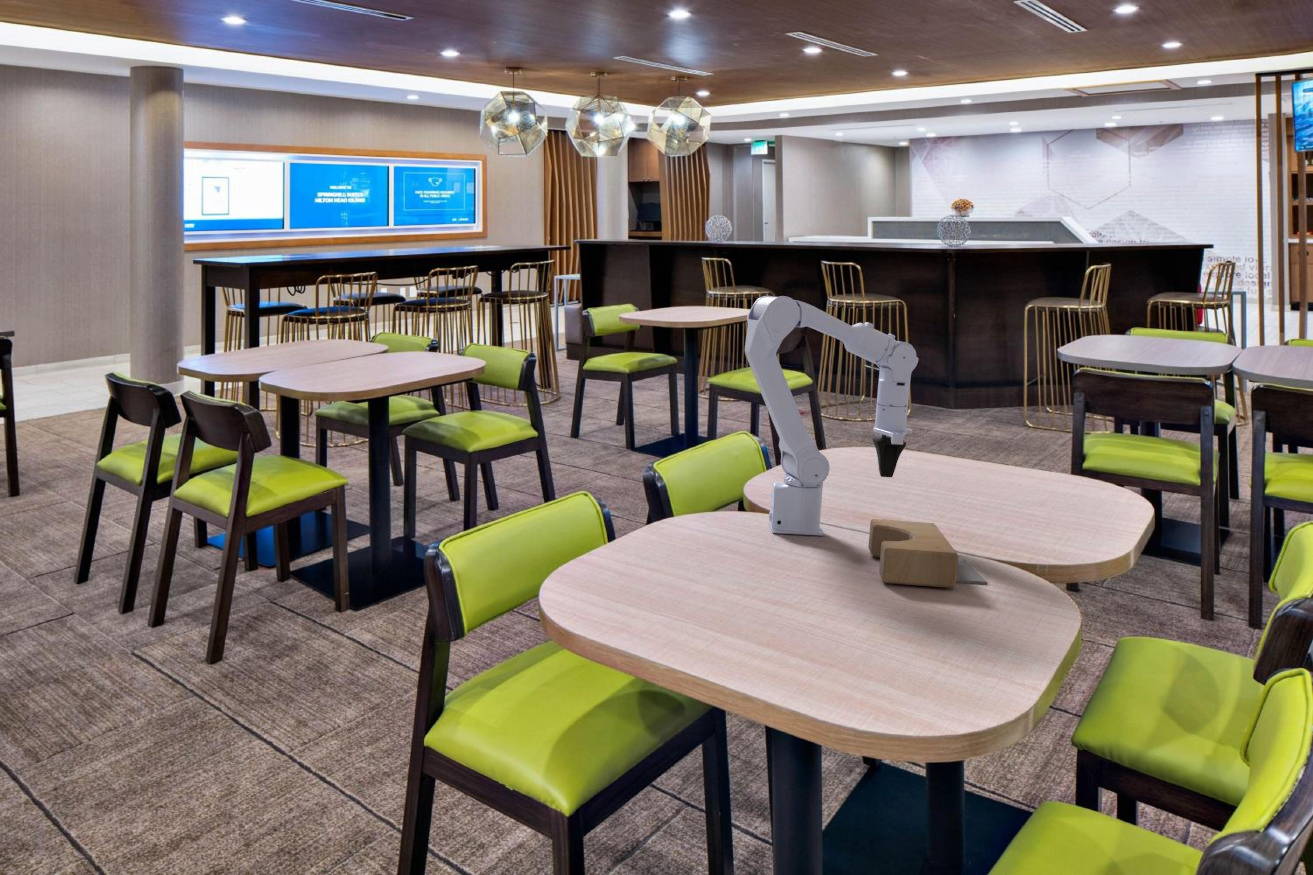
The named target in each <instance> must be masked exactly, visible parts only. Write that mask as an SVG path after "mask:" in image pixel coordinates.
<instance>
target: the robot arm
mask: <svg viewBox="0 0 1313 875" xmlns="http://www.w3.org/2000/svg"><path fill="white" fill-rule="evenodd" d="M746 323H747V328H746V329H747V330H746V336H745V345H744V354H745V358H746V360H747V362H748V364H749V367H750V370H751V371H752V374H753V377H754V378H755V381H756V384H757V386H758V389H759V392H760V393H761V397H762V399H763V401H764V403H765V404H764V405H765V406H766V408H767V412H768V413H769V416H770V418H771V422H772V423H773V426H774V428H775V430H776V433H777V436H778V437H779V441H778V442H779V443H778V447H779V451H780V454H781V455H780V456H781V457H780V464H781V468H782V470H783V471H784V473H785V475H784V479H783V482H773V483H772V485H771V494H770V508H769V513H768V525H769V527H770V529H771V532H772V533H773V534H787V535H801V536H802V535H803V536H804V535H805V536H806V535H807V536H821V537H822V536H824V535H825V532H824V531H823V529H822V527H821V516H822V515H821V513H822V502H823V500H822V499H823V488H824V487H823V485H824V481H825V480H827V477H828V476H829V473H830V462H829V459H828V457H826V456H825V455H824V454H823V453H822V452H820V450H819V448H818V446H817V444H816V442H815V440H814V439H813V438H812V437H811V435H810V434H809V432H808V431H807V429H806V426H805V424H804V421H803V418H802V417H801V416H802V415H801V414H800V411H799V408H798V406H797V404H796V401H795V399H794V397H793V394H792V392H791V389H790V386H789V384H788V380H787V378H786V376H785V374H784V372H783V369H782V366H781V364H780V361H779V359H778V356H777V353H778V350H779V349H780V346H781V344H782V343H783V340H784V339H785V338H786V337H787V336H788V335H789V334H790V333H791V332H792V331H793V330H794V329H795V328H805V327H808V328H810V329H813V330H816V331H817V332H820V333H822V334H824V335H827V336H830V337H831V338H835V339H837V340H839V341H841V342H842V343H843V344H844V348H845V350H846V352H848V353H851V354H853V355H855V356H858V357H860V358H861V359H863V360H866V361H867V362H870V363H872V364H875V365H876V366H877V367H878V368H879V375H878V384H877V397H876V408H875V422H874V426H873V432H874V433H875V434H880V435H881V437H880V438H879V437H877V438H876V437H873V438H872V442H873V445H874V447H875V450H876V456H877V463H878V470H879V471H878V472H879V476H880V477H881V478H893V477H894V476H893V475H894V473H895V471H896V468H897V464H898V461H899V458H900V456H901V455H902V452H903V451H904V449H905V447H906V446H907V442H905V438H904V437H905V436H906V435H907V434H908V435H909V434H910V435H912V434H913V430H912V429H911V428H907V422H908V411H909V410H908V409H909V399H910V387H911V379H912V378H911V377H912V372H913V371H914V370H915V369H916V367H917V365H918V362H919V357H918V356H917V352H916V349H915V348H914V346H913V345H912V344H910V343H909V342H908V341H907V342H906V341H899V340H896V339H895V338H896V335H894V334H892V333H888V334H886V333H884V332H882V331H880V330H877V329H875V328H874V326H875V325H874V324H873V323H871V322H868V321H867V322H866V321H865V322H864V323H862V322H858V323H855V324H852V325H850V324H849V323H846V322H845V321H843V320H840V318H837V317H835V316H833V315H831V314H829V313H827V312H825V311H824V310H821V309H819V308H818V307H816V306H814V305H811V304H809V303H807V302H804V301H801V300H798V299H797V300H795V299H793V298H792V297H789V296H784V295H781V296H773V295H764V296H761V297H759V298H757V299H756V300H755V302H754V303H753V305H752V306H751V308H750V310H749V312H748V313H747V315H746Z"/></svg>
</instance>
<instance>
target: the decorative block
mask: <svg viewBox="0 0 1313 875" xmlns="http://www.w3.org/2000/svg"><path fill="white" fill-rule="evenodd" d="M867 547H868V550H869V552H870V555H871V556H872V557H877V558H879V568H878V574H879V577H880V579H881V580H882V582H883V583H885V584H896V585H897V584H898V585H908V586H909V585H910V586H911V585H912V586H922V587H936V588H949V589H953V588H955V587H957V582H956V577H957V567H958V560H959V554H958V553H957V551H956V550H955V549H954V548H953V546H952V544H951V543H949V541H948V539H947V538H946V537H945V536H944V534H943V533H942V532H941V530H940V529H939V528H938V527H937V525H936V524H935V523H933V522H919V521H907V520H906V521H905V520H892V519H877V518H876V519H875V518H872V519H871V520H870V526H869V537H868V546H867Z"/></svg>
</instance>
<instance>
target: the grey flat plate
mask: <svg viewBox="0 0 1313 875" xmlns="http://www.w3.org/2000/svg"><path fill="white" fill-rule="evenodd" d="M957 583H961V584H962V583H963V584H976V585H977V584H979V585H987V584H988V580H986V579H985V578H984V577H983V576H982V575H981V574H980V573H979V572H977V570H976V569H974V567H972V566H971V565H970V564H969V563H968V562H967V561H966V560H960V559H958V567H957V577H956V584H957Z"/></svg>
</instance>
